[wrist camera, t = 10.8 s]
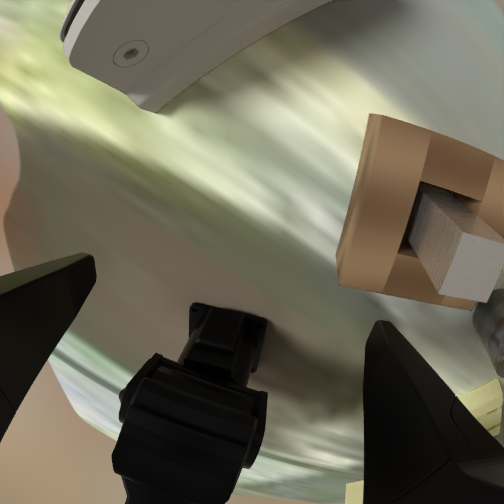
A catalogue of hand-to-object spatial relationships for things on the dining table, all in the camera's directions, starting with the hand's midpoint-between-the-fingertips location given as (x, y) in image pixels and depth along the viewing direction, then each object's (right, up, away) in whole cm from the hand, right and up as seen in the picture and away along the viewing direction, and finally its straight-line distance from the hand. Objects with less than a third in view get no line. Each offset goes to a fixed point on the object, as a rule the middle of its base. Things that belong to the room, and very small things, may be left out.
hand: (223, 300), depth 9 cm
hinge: (-1, +18, +7) cm, 19 cm away
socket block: (+12, +5, +10) cm, 16 cm away
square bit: (+12, +5, +10) cm, 16 cm away
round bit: (+22, -4, +12) cm, 25 cm away
